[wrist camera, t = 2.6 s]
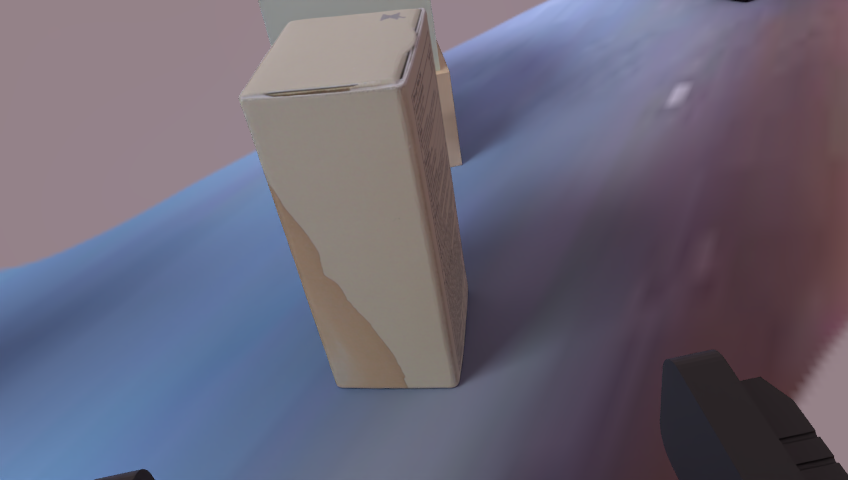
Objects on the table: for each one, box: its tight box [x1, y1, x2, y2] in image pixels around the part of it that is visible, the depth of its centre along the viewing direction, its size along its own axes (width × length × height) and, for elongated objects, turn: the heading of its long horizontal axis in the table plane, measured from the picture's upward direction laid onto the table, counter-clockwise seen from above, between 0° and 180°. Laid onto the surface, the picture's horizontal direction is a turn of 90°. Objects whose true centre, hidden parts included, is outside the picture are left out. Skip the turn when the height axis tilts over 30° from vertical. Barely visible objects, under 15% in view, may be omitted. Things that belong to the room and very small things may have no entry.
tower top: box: [258, 0, 440, 71], centre depth 33 cm, size 7×7×5 cm
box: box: [239, 8, 468, 388], centre depth 22 cm, size 5×4×11 cm
